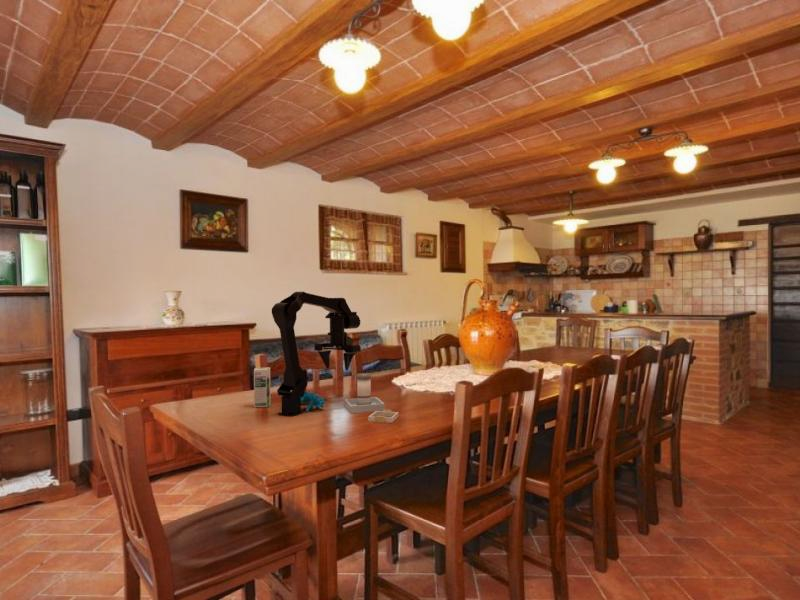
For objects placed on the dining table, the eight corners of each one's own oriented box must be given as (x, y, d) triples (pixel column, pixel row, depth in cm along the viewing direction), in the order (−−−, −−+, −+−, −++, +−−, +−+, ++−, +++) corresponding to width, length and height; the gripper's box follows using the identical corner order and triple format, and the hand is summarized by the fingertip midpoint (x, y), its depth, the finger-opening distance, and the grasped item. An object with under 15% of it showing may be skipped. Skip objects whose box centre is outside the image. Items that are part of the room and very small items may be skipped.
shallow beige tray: (367, 421, 154) (367, 415, 154) (376, 414, 164) (376, 409, 164) (391, 423, 152) (391, 417, 152) (399, 416, 162) (398, 410, 162)
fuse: (371, 408, 171) (371, 375, 171) (356, 408, 171) (356, 375, 171) (371, 404, 177) (371, 373, 177) (357, 405, 177) (357, 373, 177)
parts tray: (350, 413, 166) (350, 406, 166) (344, 405, 178) (344, 399, 178) (384, 410, 170) (384, 403, 170) (376, 403, 182) (376, 397, 182)
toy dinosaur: (330, 404, 173) (316, 388, 167) (325, 418, 169) (311, 402, 163) (306, 405, 178) (292, 390, 172) (300, 419, 174) (286, 404, 168)
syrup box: (253, 408, 175) (253, 369, 175) (255, 404, 181) (255, 367, 181) (269, 407, 176) (269, 368, 176) (270, 403, 182) (270, 366, 182)
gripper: (368, 329, 186) (368, 368, 186) (330, 327, 195) (330, 365, 195) (352, 330, 176) (352, 372, 176) (313, 329, 186) (313, 368, 186)
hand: (337, 369), depth 184 cm, fingers open, 9 cm apart
